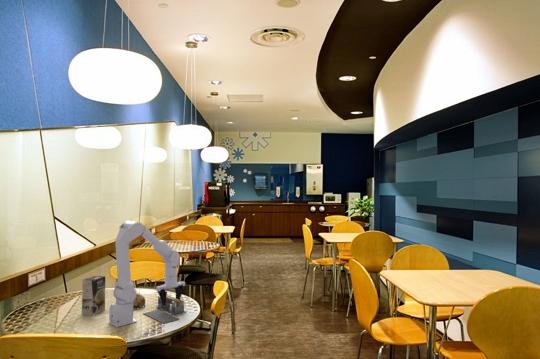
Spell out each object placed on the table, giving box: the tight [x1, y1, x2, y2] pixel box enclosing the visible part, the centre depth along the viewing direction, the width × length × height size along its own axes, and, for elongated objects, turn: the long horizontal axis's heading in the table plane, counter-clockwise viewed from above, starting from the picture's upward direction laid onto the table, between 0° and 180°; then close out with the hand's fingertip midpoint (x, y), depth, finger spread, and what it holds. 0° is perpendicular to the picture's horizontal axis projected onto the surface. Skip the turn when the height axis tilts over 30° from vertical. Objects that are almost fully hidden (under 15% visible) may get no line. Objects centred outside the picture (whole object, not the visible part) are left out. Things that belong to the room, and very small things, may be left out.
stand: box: [155, 294, 187, 317], centre depth 193 cm, size 6×17×6 cm, turn 46°
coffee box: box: [81, 275, 106, 316], centre depth 189 cm, size 9×6×16 cm
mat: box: [142, 309, 181, 325], centre depth 183 cm, size 8×18×1 cm, turn 46°
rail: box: [166, 294, 183, 307], centre depth 193 cm, size 2×16×2 cm, turn 46°
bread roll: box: [133, 293, 146, 310], centre depth 199 cm, size 10×10×8 cm
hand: (170, 303), depth 193 cm, fingers open, 7 cm apart
